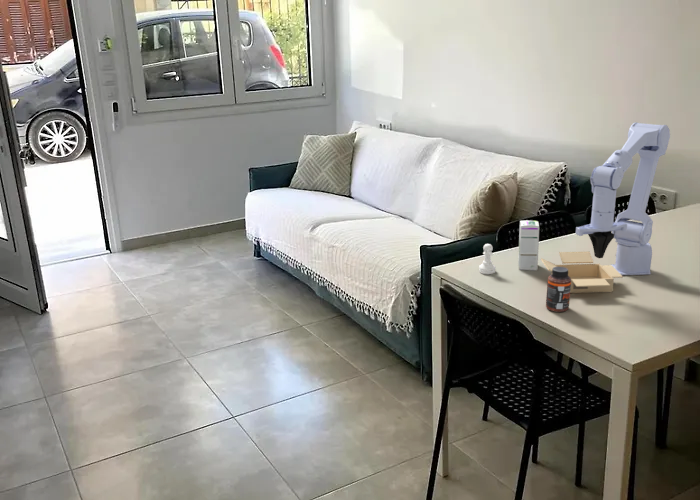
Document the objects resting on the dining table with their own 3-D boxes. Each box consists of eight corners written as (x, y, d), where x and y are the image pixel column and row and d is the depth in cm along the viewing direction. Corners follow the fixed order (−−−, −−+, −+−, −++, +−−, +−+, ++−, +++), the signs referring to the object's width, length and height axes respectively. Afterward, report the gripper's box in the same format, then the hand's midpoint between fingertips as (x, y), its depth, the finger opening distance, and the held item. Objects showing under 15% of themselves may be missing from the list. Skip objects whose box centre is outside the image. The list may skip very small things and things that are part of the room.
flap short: (593, 262, 194) (589, 252, 198) (593, 261, 194) (589, 251, 197) (562, 263, 195) (559, 253, 198) (562, 262, 194) (559, 252, 198)
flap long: (554, 264, 193) (541, 258, 193) (563, 275, 185) (549, 269, 184) (553, 265, 194) (540, 259, 193) (562, 276, 185) (548, 270, 185)
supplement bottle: (565, 314, 172) (568, 274, 168) (542, 310, 175) (545, 270, 171) (571, 306, 177) (574, 267, 173) (549, 302, 180) (552, 263, 176)
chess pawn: (480, 274, 200) (481, 247, 197) (477, 268, 205) (478, 241, 202) (496, 274, 200) (498, 246, 197) (493, 268, 205) (494, 241, 202)
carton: (608, 276, 196) (609, 263, 194) (629, 298, 180) (630, 284, 179) (551, 277, 196) (551, 264, 195) (566, 299, 181) (567, 285, 180)
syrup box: (537, 270, 202) (540, 225, 197) (518, 270, 203) (520, 225, 198) (536, 264, 207) (539, 220, 202) (517, 263, 208) (519, 219, 204)
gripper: (617, 203, 184) (613, 249, 188) (571, 208, 181) (567, 255, 185) (633, 210, 177) (628, 257, 182) (585, 215, 174) (581, 263, 179)
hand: (598, 256), depth 183 cm, fingers closed
